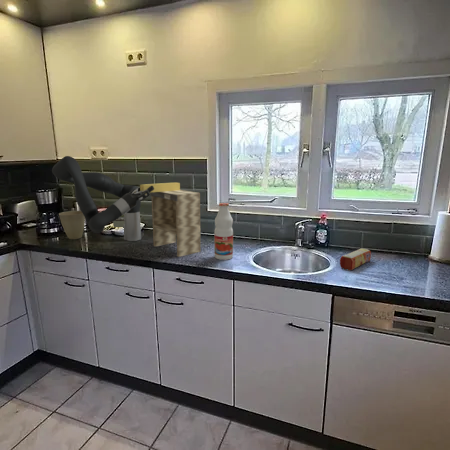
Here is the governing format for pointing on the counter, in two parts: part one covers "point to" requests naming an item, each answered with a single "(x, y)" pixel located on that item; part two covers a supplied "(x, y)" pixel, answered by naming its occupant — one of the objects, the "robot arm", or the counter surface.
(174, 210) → the beige zigzag patterned stand
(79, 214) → the plant pot
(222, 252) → the fruit juice
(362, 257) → the snack package
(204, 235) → the counter surface
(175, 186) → the spaghetti box
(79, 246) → the counter surface
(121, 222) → the food container
